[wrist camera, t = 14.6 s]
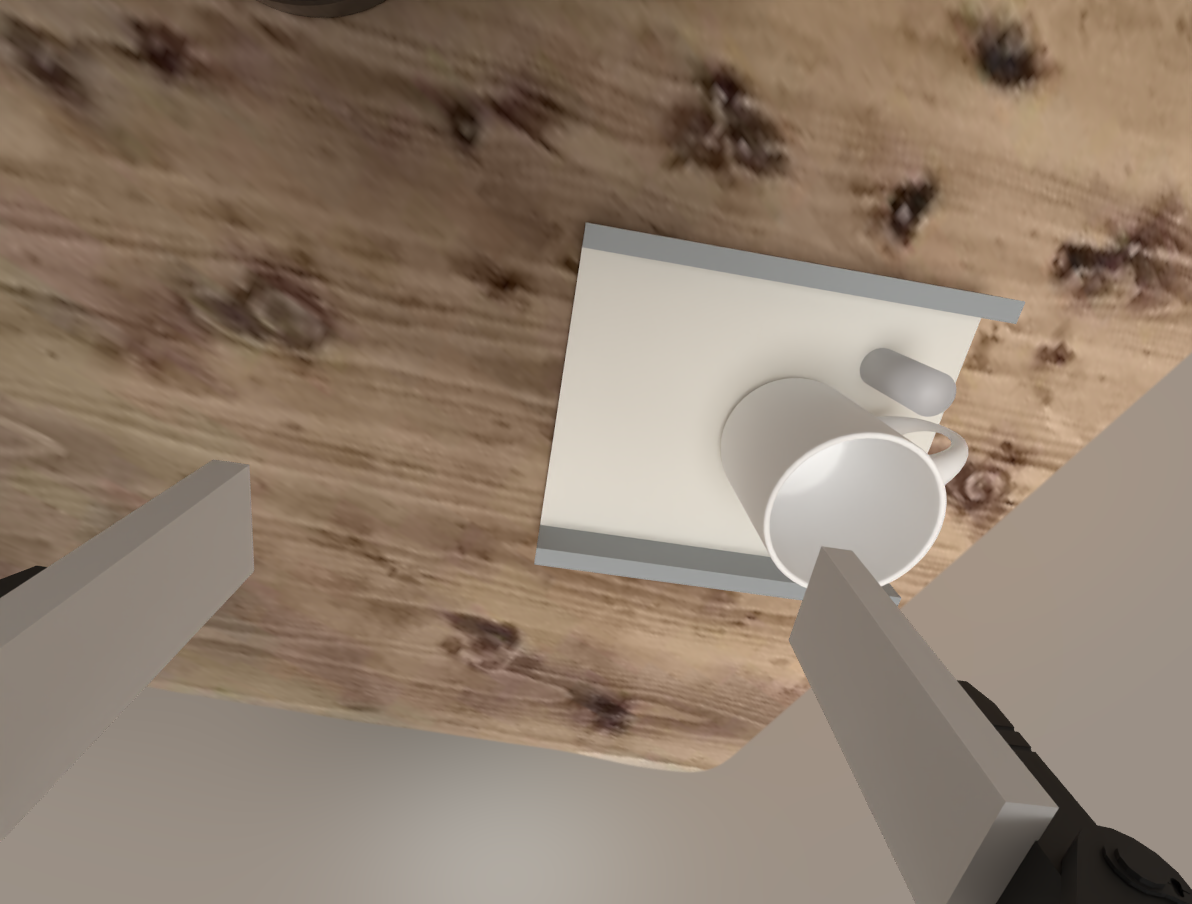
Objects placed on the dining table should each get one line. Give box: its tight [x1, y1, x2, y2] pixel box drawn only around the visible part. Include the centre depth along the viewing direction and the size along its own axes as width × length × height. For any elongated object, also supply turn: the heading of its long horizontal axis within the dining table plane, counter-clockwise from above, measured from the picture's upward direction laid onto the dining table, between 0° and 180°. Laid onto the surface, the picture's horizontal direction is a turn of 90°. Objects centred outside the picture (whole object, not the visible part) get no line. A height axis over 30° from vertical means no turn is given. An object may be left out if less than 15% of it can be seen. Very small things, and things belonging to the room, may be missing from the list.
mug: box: [721, 378, 968, 588], centre depth 33 cm, size 9×12×11 cm
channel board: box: [534, 222, 1025, 607], centre depth 35 cm, size 20×24×7 cm
